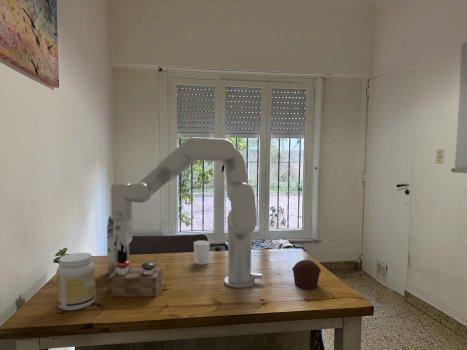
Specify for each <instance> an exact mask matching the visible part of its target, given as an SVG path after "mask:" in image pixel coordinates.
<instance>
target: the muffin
mask: <svg viewBox="0 0 467 350" xmlns="http://www.w3.org/2000/svg"><path fill="white" fill-rule="evenodd" d="M291 270H292V273H293V274H292V275H293V280H294V285H295V286H296V288H297V289H302V290H303V291H305V290H308V291H311V290H315V289H317V287H318V284H319V278H320V274H321V272H322V269H321V268H320V267H319V265H318V264H317V263H316V262H314V261H313V260H309V259H302V260H300V261H298V262H296V263H295V264H294V266H293V267H292V269H291Z"/></svg>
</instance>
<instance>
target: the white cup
mask: <svg viewBox="0 0 467 350" xmlns="http://www.w3.org/2000/svg"><path fill="white" fill-rule="evenodd" d="M210 244H211V243H210V241H208V240H196V241H193V253H194V254H193V255H194V256H193V257H194V263H195V264H196V265H201V266H202V265H206V264H207V265H208V264H209V261H210V260H209V259H210V250H211V249H210V247H211V246H210Z"/></svg>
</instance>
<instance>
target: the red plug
mask: <svg viewBox="0 0 467 350" xmlns="http://www.w3.org/2000/svg"><path fill="white" fill-rule="evenodd" d="M130 263H131V261H130V259H129V260H127V261H126V262H118V261H116V266H117V275H127V274H128V265H129V266H130Z"/></svg>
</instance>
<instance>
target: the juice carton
mask: <svg viewBox="0 0 467 350" xmlns="http://www.w3.org/2000/svg"><path fill="white" fill-rule="evenodd" d="M113 222H114V220H112V215H111V214H109V215H108V220H107V229H106V231H107V270H108V274H109V275H108V276H110V275H111V274H112V273H113V272H114V270H115V269H116V268H117V266H116V261H118V252H117V250H116V247H117V245H116V246H114V245H113ZM127 260H129V261H130V243H129V244H128V245H127ZM128 267H130V265H128Z"/></svg>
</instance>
